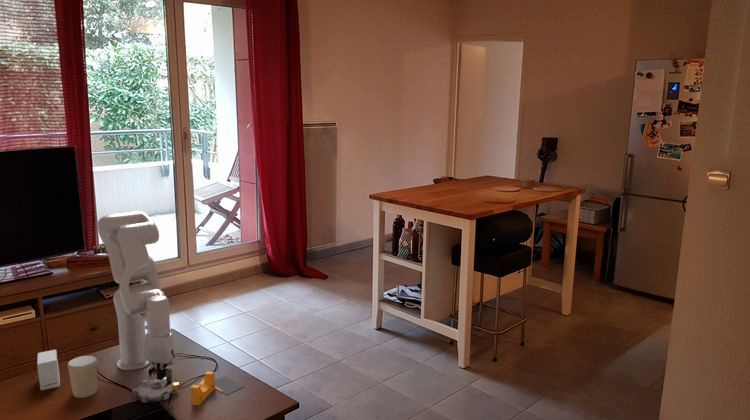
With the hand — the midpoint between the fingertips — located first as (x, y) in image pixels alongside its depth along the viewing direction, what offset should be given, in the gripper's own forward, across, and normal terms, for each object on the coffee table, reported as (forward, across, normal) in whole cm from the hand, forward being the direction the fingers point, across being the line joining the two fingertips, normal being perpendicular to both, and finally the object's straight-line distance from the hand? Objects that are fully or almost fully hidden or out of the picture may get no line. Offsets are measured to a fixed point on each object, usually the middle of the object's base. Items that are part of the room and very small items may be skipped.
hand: (161, 377), depth 210 cm
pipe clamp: (+4, +17, -1) cm, 17 cm away
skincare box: (+5, -42, -8) cm, 43 cm away
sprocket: (+3, +1, -5) cm, 6 cm away
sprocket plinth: (+4, +1, -5) cm, 6 cm away
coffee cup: (+5, -24, -10) cm, 27 cm away
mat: (+4, +21, +8) cm, 23 cm away
